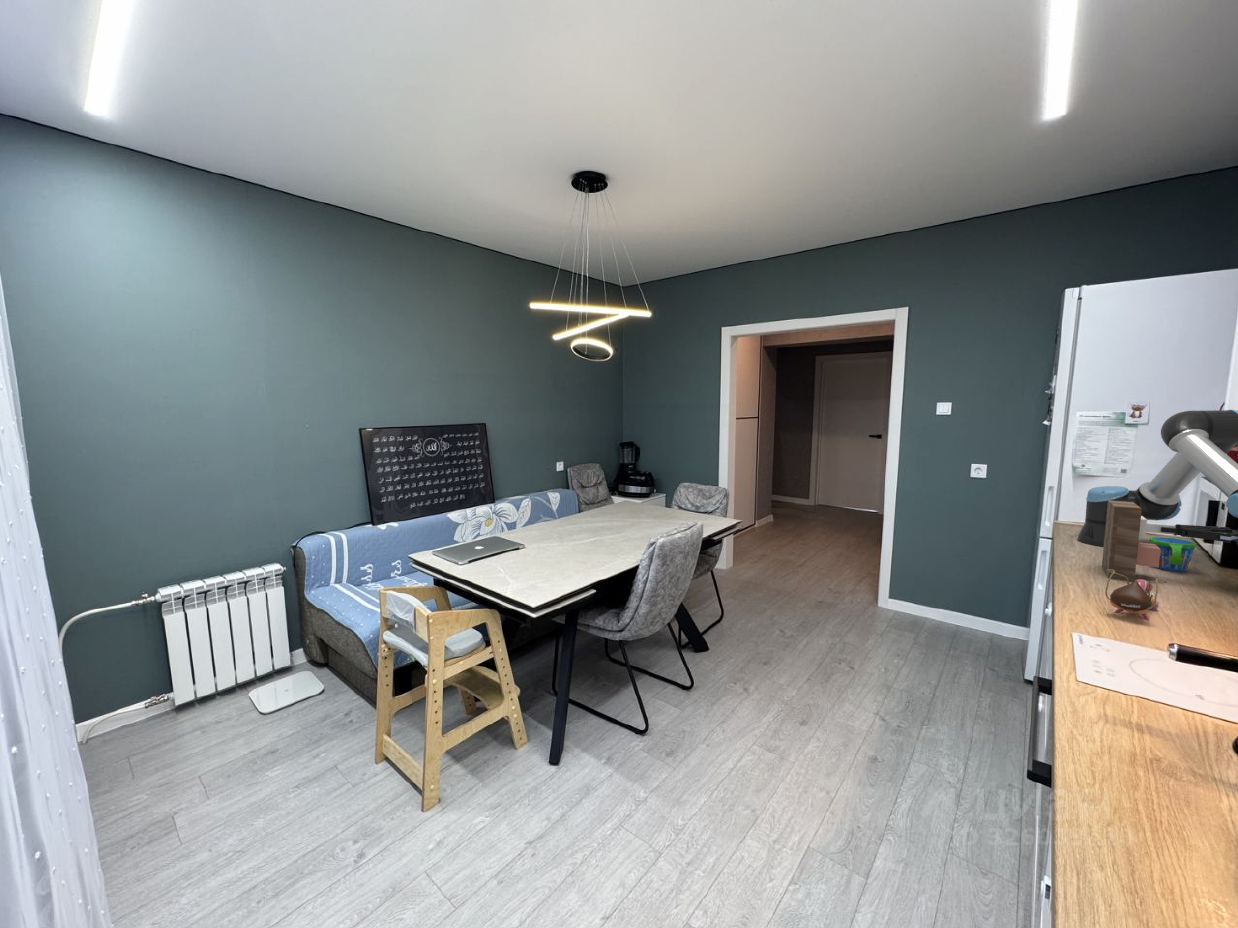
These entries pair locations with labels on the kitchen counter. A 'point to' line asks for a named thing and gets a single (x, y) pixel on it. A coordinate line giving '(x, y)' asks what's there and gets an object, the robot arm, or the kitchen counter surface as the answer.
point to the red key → (1148, 555)
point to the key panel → (1121, 539)
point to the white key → (1143, 527)
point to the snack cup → (1174, 553)
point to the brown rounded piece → (1134, 596)
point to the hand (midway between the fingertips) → (1144, 527)
